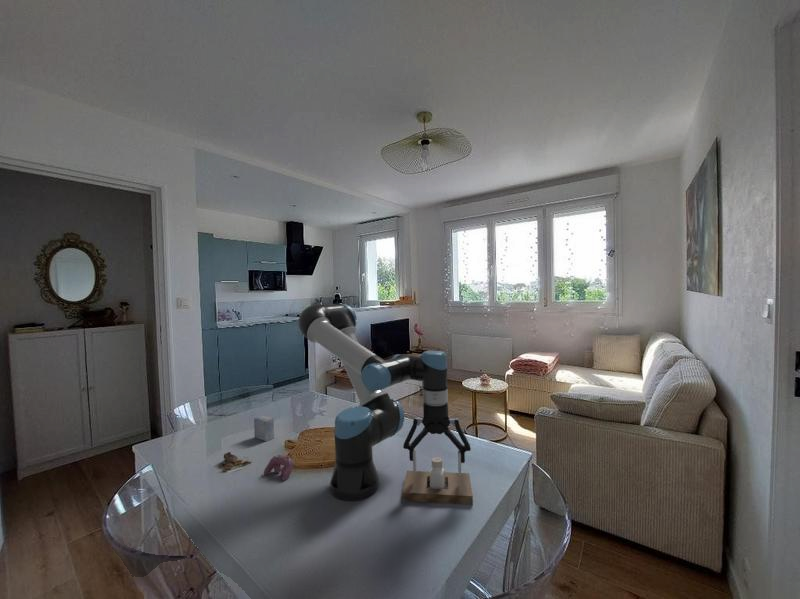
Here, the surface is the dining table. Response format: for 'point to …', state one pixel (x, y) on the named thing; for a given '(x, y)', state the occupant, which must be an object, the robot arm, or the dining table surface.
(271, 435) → the medicine box
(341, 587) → the dining table surface
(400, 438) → the dining table surface
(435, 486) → the pepper shaker
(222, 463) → the frog figurine
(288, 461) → the video game controller
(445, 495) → the spice block
